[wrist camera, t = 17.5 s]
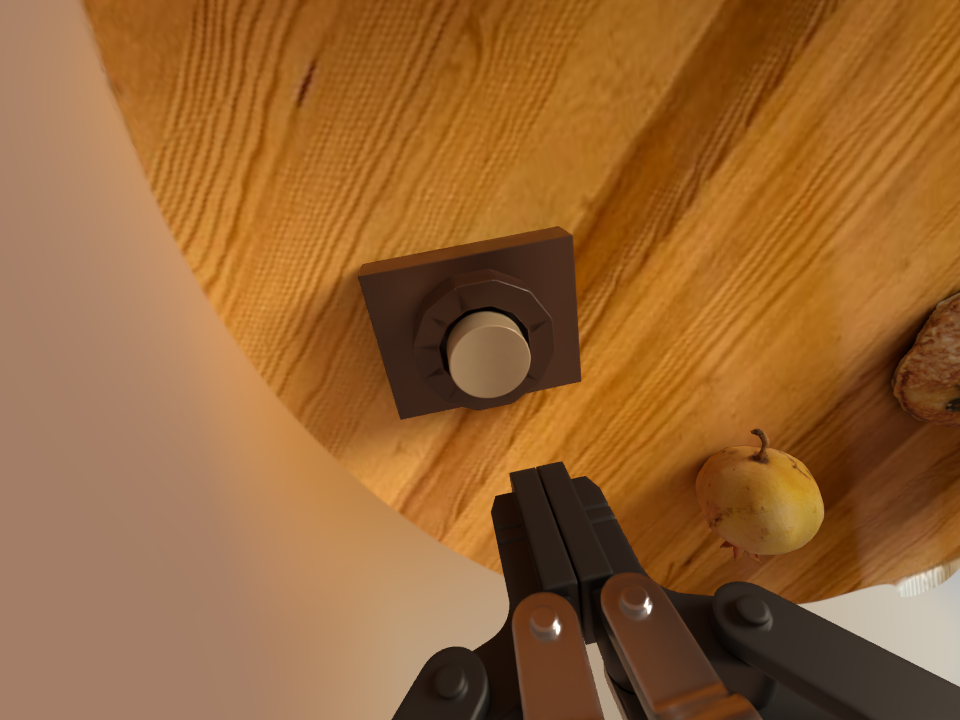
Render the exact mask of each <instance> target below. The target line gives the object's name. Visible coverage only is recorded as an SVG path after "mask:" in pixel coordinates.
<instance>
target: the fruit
mask: <svg viewBox="0 0 960 720" xmlns="http://www.w3.org/2000/svg"><path fill="white" fill-rule="evenodd" d="M751 433H752V434H755V435H758V436H759V437H760V439H761V441H762V447H752V446H735V447H727V448H725V449H723V450H721V451H719V452H717V453H715V454H713V455H712V456H711V457H710V458H709V459H708V460H707V461H706V462H705V463H704V465H703V467H702V468H701V470H700V471H699V473H698V475H697V479H696V483H695V489H696V495H697V498H698V500H699V503H700V506H701V510H702V512H703V514H704V517H705V520H706V522H707V524H708V525H709V527H710V528H711V529H712V530H713V531H714V532H715V533H717V534H718V535H719V536H720V537H722V538H723V539H725V540H726V541H725V542H724V543H723V544H722V545H721V546H720V548H730V547H733V552H734V558H735V562H736V560H738V559H739V558H740V557H741V556H742V555H743V554H744V552H745V551H746V552H747V553H748V555H749V556H750V557H751V558H752V559H753V560H754V561H756V562H757V563H759V564H760V563H761V562H760V560H759V558H758V556H757V554H760V555H780V554H785V553H788V552H791V551H794V550H796V549H799V548H801V547H802V546H803V545H805V544H806V543H807V542H809V541H810V540H811V539H812V538H813V537H814V535H815V534H816V533H817V531H818V529H819V527H820V525H821V523H822V521H823V518H824V504H823V501H822V497H821V494H820V491H819V488H818V486H817V484H816V482H815V480H814V478H813V476H812V475H811V473H810V472H809V470H808V469H807V468H806V466H805V465H804V464H803V463H802V462H801V461H799V460H798V459H796V458H794V457H793V456H791V455H789V454H786V453H784V452H782V451H780V450H777V449H772V448H768V447H769V439H768V437H767V435H766V434H765V433H764V432H763V431H762V430H761V429H754V430H752V431H751Z"/></svg>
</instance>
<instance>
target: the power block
mask: <svg viewBox="0 0 960 720" xmlns="http://www.w3.org/2000/svg"><path fill="white" fill-rule="evenodd" d="M358 279H359V282H360V286H361V289H362V292H363V296H364V299H365V302H366V306H367V309H368V312H369V316H370V319H371V323H372V326H373V329H374V333H375V336H376V339H377V343H378V346H379V349H380V353H381V356H382V360H383V363H384V366H385V370H386V373H387V376H388V380H389V383H390V386H391V390H392V393H393V396H394V400H395V403H396V407H397V410H398V413H399V417H400V419H401V420H402V419H407V418H412V417H416V416H421V415H426V414H430V413H435V412H440V411H445V410H449V409H454V408H459V407H465V408H470V409H474V410H484V409H489V408H493V407H498V406H503V405H507V404H511V403H514V402H515V401H516V400H518V399H519V398H520V397H522V396H523V395H524V394H526V393H529V392H534V391H539V390H544V389H548V388H553V387H558V386H562V385H567V384H572V383H576V382H581V368H580V351H579V333H578V316H577V299H576V282H575V264H574V247H573V235H572V234H570V233H569V232H567V231H565V230H564V229H562V228H561V227H559V226H557V227H552V228H547V229H542V230H537V231H532V232H526V233H521V234H516V235H511V236H506V237H501V238H495V239H490V240H485V241H480V242H475V243H470V244H464V245H459V246H454V247H449V248H444V249H439V250H433V251H428V252H423V253H418V254H413V255H408V256H402V257H397V258H392V259H387V260H382V261H377V262H371V263H366V264H363V265H362V268H361V270H360V273H359V276H358ZM480 311H494V312H498V313H501V314H504V315H506V316H507V317H509V318H510V319H512V320H513V321H514V322H515V324H516V325H517V326H518V328H519V330H520V332H521V333H522V335H523V337H524V339H525V341H526V342H527V344H528V347H529V350H530V355H531V361H530V367H529V370H528V373H527V375H526V377H525V378H524V380H523V381H522V382H521V383H520V384H519V386H517V387H516V388H515V389H514V390H512V391H511V392H509V393H507V394H505V395H502V396H499V397H495V398H479V397H475V396H472V395H469V394H467V393H466V392H464V391H463V390H461V389H460V388H459V387H458V386H457V385H456V384H455V382H454V381H453V379H452V377H451V374H450V370H449V364H448V358H447V351H446V345H447V340H448V337H449V334H450V332H451V331H452V329H453V328H454V326H455V325H456V324H457V323H458V322H459V321H460V320H462V319H463V318H464V317H466V316H468V315H470V314H473V313H476V312H480Z"/></svg>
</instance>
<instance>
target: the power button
mask: <svg viewBox="0 0 960 720" xmlns="http://www.w3.org/2000/svg"><path fill="white" fill-rule="evenodd" d="M446 351H447V358H448V364H449V370H450V374H451V377H452V379H453V381H454V382H455V384H456V385H457V386H458V387H459V388H460V389H461V390H463V391H464V392H466V393H467V394H469V395H472V396H475V397H479V398H495V397H499V396H502V395H505V394H507V393H509V392H511V391H512V390H514V389H515V388H516V387H517V386H519V384H520V383H521V382H522V381H523V380H524V378H525V377H526V375H527V373H528V370H529V367H530V361H531V355H530V350H529V347H528V344H527V342H526V341H525V339H524V337H523V335H522V333H521V332H520V330H519V328H518V326H517V325H516V324H515V322H514V321H513V320H512V319H510V318H509V317H507V316H506V315H504V314H501V313H498V312H494V311H480V312H476V313H473V314H470V315H468V316H466V317H464V318H463V319H462V320H460V321H459V322H458V323H457V324H456V325H455V326H454V328H453V329H452V331H451V332H450V334H449V337H448V340H447V345H446Z"/></svg>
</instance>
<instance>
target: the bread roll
mask: <svg viewBox="0 0 960 720" xmlns="http://www.w3.org/2000/svg"><path fill="white" fill-rule="evenodd" d="M936 308H937V309H936V310H935V311H933V313H932V314H931V316H930V317H929V318H930V319H929V320H927V321H926V323H925V326H923V327H924V328H923V329H922V330H921V331H920V333H919V334H917V335H918V336H917V338H916V342H915V343H914V344H913V345H914V346H913V347H912V348H911V350H910V351H908V353H907V354H906V355H904V358H902V359H901V360H900V362H899V364H898V367H897V369H895V373H894V375H893V377H892V378H893V379H892V381H891V383H892V384H891V385H892V388H893V390H894V392H893V394H894V395H895V397H897V399H898V401H899V402H900V405H901V408H902V409H903V410H905V411H908V412H909V413H910V415H911V416H913V418H915V419H917V420H919V421H928V422H929V423H930V424H933V425H937V426H946V427H955V428H959V429H960V293H957V294H956V295H953V296H952V297H950V298H948V299H946V300H944V301H941V302H939V304H938V306H936Z"/></svg>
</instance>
